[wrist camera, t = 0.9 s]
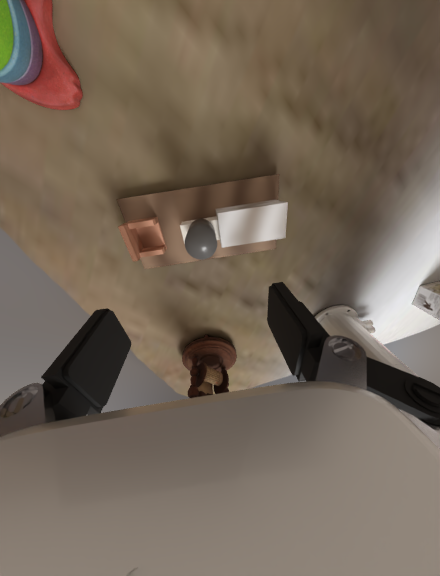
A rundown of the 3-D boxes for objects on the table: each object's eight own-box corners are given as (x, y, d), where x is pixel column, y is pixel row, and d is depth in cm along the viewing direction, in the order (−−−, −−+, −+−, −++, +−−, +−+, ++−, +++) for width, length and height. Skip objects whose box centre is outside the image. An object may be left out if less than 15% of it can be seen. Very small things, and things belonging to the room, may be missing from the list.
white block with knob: (268, 205, 27) (292, 212, 20) (267, 230, 29) (289, 246, 22) (181, 218, 27) (172, 231, 20) (187, 242, 30) (181, 262, 22)
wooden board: (276, 174, 27) (293, 171, 22) (273, 246, 33) (286, 258, 28) (119, 198, 27) (99, 202, 22) (146, 266, 34) (135, 281, 28)
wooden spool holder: (173, 356, 48) (155, 450, 31) (204, 324, 43) (204, 416, 26) (213, 372, 54) (218, 459, 37) (245, 346, 48) (268, 434, 31)
